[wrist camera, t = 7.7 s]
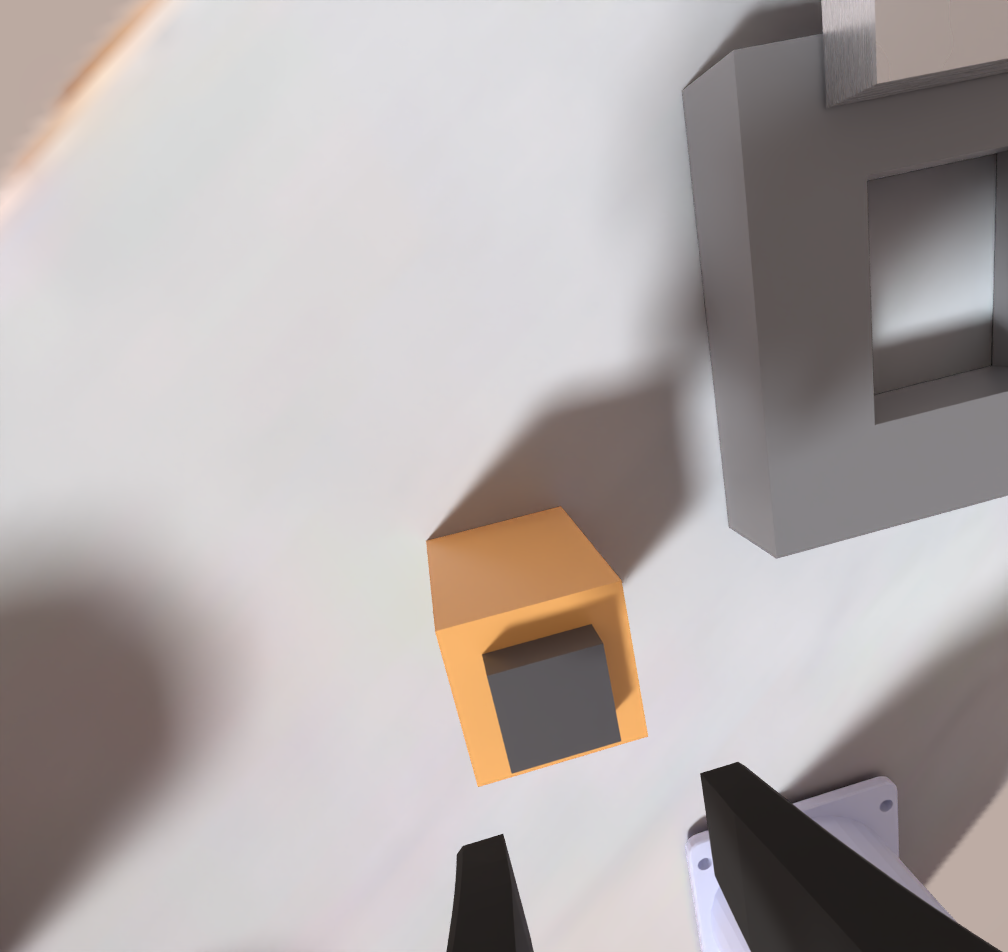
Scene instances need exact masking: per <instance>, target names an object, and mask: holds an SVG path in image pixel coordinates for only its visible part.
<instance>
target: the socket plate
mask: <svg viewBox="0 0 1008 952" xmlns="http://www.w3.org/2000/svg"><path fill="white" fill-rule="evenodd" d="M682 96H683V105H684V115H685V124H686V133H687V142H688V152H689V161H690V170H691V180H692V189H693V198H694V207H695V217H696V226H697V235H698V245H699V254H700V263H701V272H702V282H703V291H704V300H705V310H706V319H707V328H708V337H709V347H710V356H711V365H712V375H713V384H714V393H715V402H716V412H717V421H718V430H719V440H720V449H721V458H722V467H723V477H724V486H725V495H726V505H727V514H728V523H729V528H731V529H732V530H734V531H735V532H737V533H738V534H740V535H742V536H743V537H745V538H746V539H748V540H749V541H751V542H752V543H754V544H755V545H757V546H758V547H760V548H761V549H763V550H764V551H766V552H767V553H769V554H770V555H772V556H773V557H775V558H776V559H777V558H780V557H784V556H788V555H791V554H795V553H799V552H802V551H806V550H810V549H813V548H817V547H821V546H824V545H828V544H832V543H835V542H839V541H843V540H846V539H850V538H854V537H857V536H861V535H865V534H868V533H872V532H876V531H879V530H883V529H887V528H890V527H894V526H897V525H901V524H905V523H908V522H912V521H916V520H919V519H923V518H927V517H930V516H934V515H938V514H941V513H945V512H949V511H952V510H956V509H960V508H963V507H967V506H971V505H974V504H978V503H982V502H985V501H989V500H993V499H996V498H1000V497H1004V496H1007V495H1008V72H1006V73H1001V74H996V75H991V76H986V77H981V78H976V79H971V80H966V81H961V82H956V83H951V84H946V85H941V86H936V87H931V88H926V89H920V90H915V91H910V92H905V93H900V94H895V95H890V96H885V97H880V98H875V99H870V100H865V101H860V102H855V103H850V104H845V105H839V106H834V107H829V108H827V107H826V86H825V65H824V44H823V33H822V34H817V35H811V36H806V37H800V38H795V39H789V40H784V41H779V42H773V43H768V44H762V45H757V46H752V47H746V48H741V49H735V50H733V51H731V52H730V53H729V54H728V55H726V56H725V57H724V58H722V59H721V60H720V61H719V62H717V63H716V64H715V65H714V66H712V67H711V68H710V69H709V70H707V71H706V72H705V73H704V74H702V75H701V76H700V77H698V78H697V79H696V80H695V81H693V82H692V83H691V84H690V85H688V86H687V87H686V88H685V89H683V90H682ZM996 153H997V185H996V226H995V266H994V307H993V348H992V366H988V367H984V368H980V369H976V370H972V371H968V372H964V373H960V374H956V375H952V376H948V377H944V378H940V379H936V380H932V381H928V382H924V383H920V384H916V385H912V386H908V387H904V388H900V389H896V390H892V391H888V392H884V393H880V394H876V395H874V385H873V354H872V322H871V290H870V259H869V227H868V195H867V181H868V180H873V179H878V178H882V177H887V176H892V175H897V174H901V173H906V172H911V171H916V170H920V169H925V168H930V167H934V166H939V165H944V164H949V163H953V162H958V161H963V160H967V159H972V158H977V157H982V156H986V155H991V154H996Z"/></svg>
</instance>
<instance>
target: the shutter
mask: <svg viewBox="0 0 1008 952" xmlns="http://www.w3.org/2000/svg"><path fill="white" fill-rule="evenodd" d="M821 2H822V23H823V44H824V65H825V86H826V107H827V108H829V107H834V106H839V105H845V104H850V103H855V102H860V101H865V100H870V99H875V98H880V97H885V96H890V95H895V94H900V93H905V92H910V91H915V90H920V89H926V88H931V87H936V86H941V85H946V84H951V83H956V82H961V81H966V80H971V79H976V78H981V77H986V76H991V75H996V74H1001V73H1006V72H1008V0H821Z"/></svg>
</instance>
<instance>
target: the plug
mask: <svg viewBox="0 0 1008 952" xmlns="http://www.w3.org/2000/svg"><path fill="white" fill-rule="evenodd" d="M426 544H427V554H428V564H429V574H430V584H431V594H432V604H433V614H434V624H435V632H436V636H437V640H438V643H439V647H440V650H441V654H442V658H443V661H444V665H445V669H446V672H447V676H448V680H449V683H450V687H451V691H452V694H453V698H454V701H455V705H456V709H457V712H458V716H459V720H460V723H461V727H462V731H463V734H464V738H465V741H466V745H467V749H468V752H469V756H470V760H471V763H472V767H473V771H474V774H475V778H476V781H477V785H478V787H480V786H483V785H487V784H490V783H493V782H497V781H500V780H503V779H507V778H510V777H513V776H517V775H520V774H523V773H527V772H530V771H534V770H537V769H540V768H544V767H547V766H550V765H554V764H557V763H560V762H564V761H567V760H570V759H574V758H577V757H580V756H584V755H587V754H591V753H594V752H597V751H601V750H604V749H607V748H611V747H614V746H617V745H621V744H624V743H627V742H631V741H634V740H638V739H641V738H644V737H648V733H647V727H646V721H645V715H644V710H643V704H642V698H641V692H640V686H639V680H638V674H637V668H636V663H635V657H634V651H633V645H632V639H631V633H630V627H629V621H628V616H627V610H626V604H625V598H624V592H623V586H622V581H621V579H620V578H619V577H618V576H617V574H616V573H615V572H614V571H613V570H612V568H611V567H610V566H609V565H608V563H607V562H606V561H605V560H604V559H603V557H602V556H601V555H600V554H599V552H598V551H597V550H596V549H595V547H594V546H593V545H592V544H591V543H590V541H589V540H588V539H587V538H586V536H585V535H584V534H583V533H582V532H581V530H580V529H579V528H578V527H577V525H576V524H575V523H574V522H573V520H572V519H571V518H570V517H569V516H568V514H567V513H566V512H565V511H564V509H563V508H562V507H561V506H560V507H556V508H552V509H548V510H544V511H540V512H536V513H533V514H529V515H525V516H521V517H517V518H513V519H509V520H505V521H501V522H498V523H494V524H490V525H486V526H482V527H478V528H474V529H470V530H466V531H462V532H459V533H455V534H451V535H447V536H443V537H439V538H435V539H431V540H427V541H426Z"/></svg>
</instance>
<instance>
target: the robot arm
mask: <svg viewBox="0 0 1008 952" xmlns="http://www.w3.org/2000/svg"><path fill="white" fill-rule="evenodd" d="M700 774H701V781H702V789H703V796H704V803H705V810H706V817H707V824H708V830H707V831H704V832H701V833H698V834H695V835H693V836H692V837H691V838H689V839H688V841H687V843H686V847H685V850H686V856H687V863H688V869H689V876H690V882H691V889H692V895H693V901H694V908H695V914H696V921H697V927H698V934H699V940H700V946H701V952H1002V951H1000V950H998V949H997V948H995V947H994V946H992V945H991V944H989V943H987V942H986V941H984V940H983V939H981V938H980V937H978V936H976V935H975V934H973V933H972V932H970V931H969V930H967V929H966V928H964V927H963V926H961V925H960V924H958V923H957V922H956V921H955V920H954V919H953V917H952V916H951V915H950V914H949V913H948V912H947V911H946V910H945V909H944V908H943V907H942V905H941V904H940V903H939V902H938V901H937V900H936V899H935V898H934V897H933V895H932V894H930V892H929V891H928V890H927V889H926V888H925V887H924V886H923V884H922V883H921V882H920V881H919V880H918V879H917V878H916V877H915V876H914V875H913V873H912V872H911V871H910V870H909V869H908V868H907V867H906V866H905V865H904V864H903V862H902V861H901V860H900V859H899V831H898V791H897V786H896V785H895V784H894V783H893V782H892V781H891V780H890V779H889V778H888V777H885V776H879V777H875V778H872V779H869V780H865V781H862V782H859V783H856V784H853V785H850V786H846V787H843V788H840V789H837V790H834V791H831V792H827V793H824V794H821V795H818V796H815V797H812V798H808V799H805V800H802V801H799V802H796V803H793V804H792V803H791V802H789V801H788V800H787V799H785V798H784V797H783V796H782V795H780V794H779V793H778V792H777V791H775V790H774V789H773V788H772V787H770V786H769V785H768V784H767V783H765V782H764V781H763V780H762V779H761V778H759V777H758V776H757V775H756V774H754V773H753V772H752V771H751V770H749V769H748V768H747V767H746V766H744V765H742V764H741V763H739V762H736V763H733V764H730V765H726V766H723V767H720V768H716V769H713V770H710V771H707V772H703V773H700ZM447 952H534V951H533V947H532V942H531V938H530V933H529V930H528V926H527V922H526V918H525V915H524V911H523V907H522V903H521V899H520V896H519V892H518V888H517V884H516V881H515V877H514V873H513V869H512V865H511V862H510V858H509V854H508V850H507V847H506V843H505V839H504V835H503V834H501V835H498V836H494V837H491V838H488V839H484V840H481V841H478V842H475V843H471V844H468V845H465V846H463V847H462V848H461V849H460V851H459V852H458V854H457V866H456V882H455V893H454V902H453V911H452V918H451V925H450V932H449V939H448V945H447Z"/></svg>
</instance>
